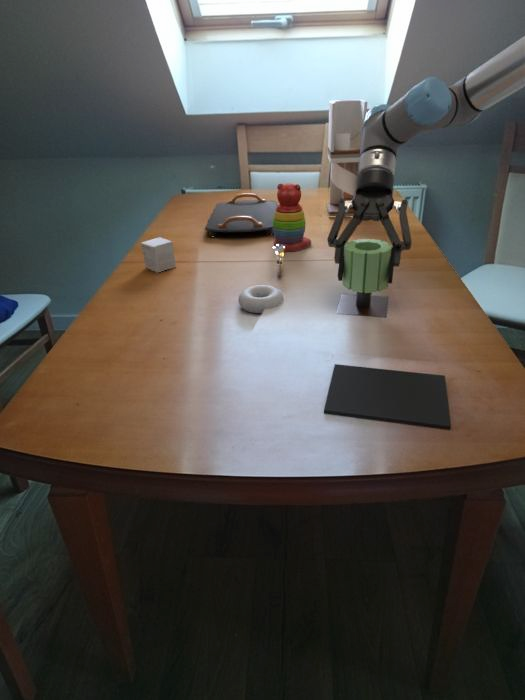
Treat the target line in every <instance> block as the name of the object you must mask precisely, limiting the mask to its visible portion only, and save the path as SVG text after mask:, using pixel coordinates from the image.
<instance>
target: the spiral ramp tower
mask: <svg viewBox="0 0 525 700" xmlns="http://www.w3.org/2000/svg"><path fill="white" fill-rule="evenodd" d="M328 103H329V104H328V105H329V106H328V128H327V129H328V133H327V138H328V139H327V160H328V161H329V163H330V174H329V175H330V177H329V178H330V179H329V203H325V204H326V205H325V209H326V208H327V210H326V213H327V212H328V214H327V216H328V215H329V216H336V215H337V212H338V210H339V200H340V199H344V200H345V201H351V200H353V198H354V197H355V192H356V183H357V178H358V167H359V159H360V149H361V140H362V128H363V126H364V120H365V116H366V114H367V112H368V101H366V100H364V99H346V100H329V101H328ZM354 213H355V210H354V209H353V207H351V208H350V209H349V211H348V212H347V213H346V212H345V216H354Z"/></svg>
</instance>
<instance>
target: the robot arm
mask: <svg viewBox="0 0 525 700" xmlns="http://www.w3.org/2000/svg"><path fill="white" fill-rule="evenodd" d="M524 87H525V35H524V36H522V37H521V38H520V39H517V40H516V41H515V42H513V43H512V44H510V45H509V46H508V47H505V49H503V50H501V51H500V52H499V53H498V54H496V55H494V56H493V57H491V58H489V60H487V61H486V62H484V63H483V64H481V65H480V66H478V67H477V68H476V69H474V70H472V71H471V72H469V73H468V74H467V75H466V76H464V77H462V78H461V79H460V80H458V81H456V82H455V83H454V84H451V85H448V86H447V84H446V83H445V82H444V81H443V80H439V78H437V77H436V76H430V77H427V78H425V79H423V80H422V81H421V82H419V83H418V84H416V85H413V86H412V87H411V88H410V90H409V91H407V93H405V94H404V95H403V96H401V97H400V98H399V99H398V100H397V101H396V102H394V103H392V105H391V104H387V103H384V104H383V103H381V104H379V105H378V106H372V107H371V108H370V109H369V110H367V114H366V116H365V120H364V126H363V128H362V140H361V149H360V159H359V167H358V178H357V183H356V192H355V197H354V198H353V200H351V201H345V200H344V199H340V200H339V210H338V212H337V215H336V218H334V220H333V223H332V225H331V228H330V231H329V234H328V236H327V246H328V247H329V248H334V257H333V260H334V264H337V265H338V267H337V269H338V270H337V280H338V281H339V282H343V264H344V246H345V244H346V243H347V242H349V240H350V238H351V237H352V236H353V234H354V232H355V231H356V230H357V229H358V227H359V226H360V225H361V224H362V222H369V221H372V222H380V223H381V226H382V227H383V229H384V231H385V233H386V235H387V237H388V239H389V243H390V244H391V245H392V248H391V257H390V267H389V278H388V284H393V277H394V267H398V268H399V267H400V265H401V258H402V252H404V251H410V250H411V248H412V235H411V229H410V223H409V219H408V213H407V209H408V205H409V202H408V200H407V199H402V200H401V201H397V200H396V201H395V198H394V197H393V196H394V195H393V194H394V185H395V179H394V178H395V175H396V165H397V152H398V148H399V147H400V146H403V144H406V143H407V142H408V141H410V140H412V138H414V137H416V136H417V135H419V134H421V133H423V132H427V131H434V130H439V129H445V128H452V127H461V126H465V125H467V124H470V123H473V122H474V121H476V120H477V119H479V118H480V116H481V115H482V114H483V112H484V111H485V110H487V109H489V108H490V107H492V106H494V105H496V104H497V103H499V102H501V101H502V100H504V99H506V98H507V97H509V96H511V95H513V94H514V93H516V92H518V91H520V90H521V89H523V88H524ZM351 207H353V209H354V210H355V213H354V216H353V217H351V219H350V220H349V222H348V223H347V225H345V227H344V229H343V231H342V232H341V234H340V235H339V233H340V231H341V228H342V226H343V223H344V220H345V218H346V217H345V212H346V213H347V212H348V211H349V209H350V208H351ZM393 209H395V212H396V214H398V219H399V225H400V230H401V236H402V241H401V238H400V237H399V235H398V233H397V230H396V228H395V226H394V224H393V222H392V220H391V218H390V214H389V213H390V212H391V211H392V210H393Z"/></svg>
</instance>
